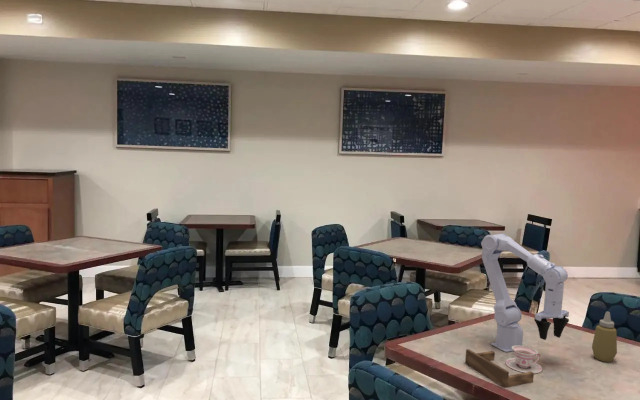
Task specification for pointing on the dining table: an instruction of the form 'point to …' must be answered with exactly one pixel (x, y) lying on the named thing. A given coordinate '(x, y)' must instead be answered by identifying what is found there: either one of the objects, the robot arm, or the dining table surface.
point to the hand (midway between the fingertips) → (550, 337)
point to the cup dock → (495, 369)
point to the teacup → (524, 359)
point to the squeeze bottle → (605, 340)
